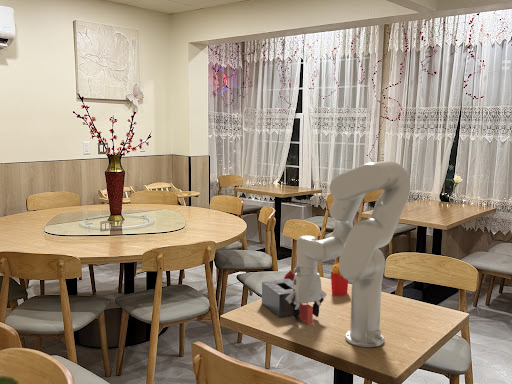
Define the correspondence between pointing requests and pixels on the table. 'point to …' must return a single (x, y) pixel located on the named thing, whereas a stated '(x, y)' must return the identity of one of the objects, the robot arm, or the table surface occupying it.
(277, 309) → the grey slotted box
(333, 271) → the french fries
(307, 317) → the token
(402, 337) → the table surface
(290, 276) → the onion
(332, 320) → the table surface
